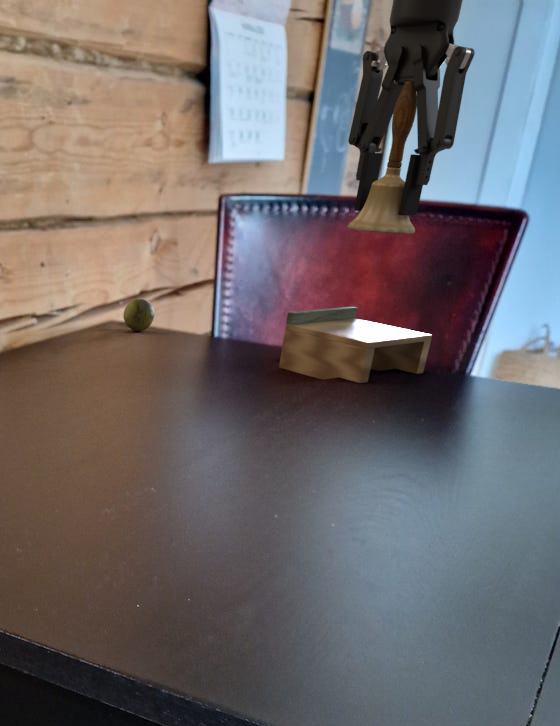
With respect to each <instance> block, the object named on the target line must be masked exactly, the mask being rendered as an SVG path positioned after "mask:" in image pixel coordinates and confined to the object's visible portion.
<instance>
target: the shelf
mask: <svg viewBox="0 0 560 726" xmlns="http://www.w3.org/2000/svg"><path fill="white" fill-rule="evenodd" d="M357 312H358V307H357V306H343V307H342V306H341V307H331V308H320V309H309V310H295V311H288V312H287V316H286V321H285V323H286V324H285V328H284V333H283V338H282V346H281V351H280V352H281V353H280V358H279V364H278V368H279V369H283V370H287V371H288V372H289V371H290V372H293V373H296V374H300V375H304V376H308V377H310V378H315V379H319V380H321V381H324V380H329V379H336V378H340V379H344V380H347V381H350V382H354V383H359V384H363V383H368V382H369V377H370V373H371V370H374V371H377V372H383V371H388V370H394V369H395V370H400V371H403V372H407V373H411V374H415V375H419V374H424V371H425V367H426V363H427V359H428V355H429V351H430V346H431V342H432V338H433V334H431V333H425V332H421V331H416V330H411V329H408V328H402V327H397V326H393V325H388V324H383V323H379V322H374V321H370V320H364V319H359V318H356V316H357Z"/></svg>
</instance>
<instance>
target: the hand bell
mask: <svg viewBox="0 0 560 726" xmlns="http://www.w3.org/2000/svg"><path fill="white" fill-rule="evenodd" d="M416 116H417V92H416V90H415V88H414V82H411V81H408V82H405V84H404V87H403V89H402V91H401V93H400V95H399V97H398V100H397V102H396V105H395V108H394V113H393V115H392V118H391V147H390V151H389V156H388V162H387V164H386V170H385V174H384V176H382V177H380V178H378V180H376V181H374V182H373V183H372V186H371V189H370V192H369V195H368V198H367V200H366V203H365V205H364V207H363V209H362V210H361V211H359V213H358V215H357V216H356V217H355V218H353V220H351V221H350V222H349V223H348V225H347V228H348V229H351V230H355V231H361V232H362V231H363V232H370V233H380V234H394V235H395V234H397V235H400V234H401V235H403V234H404V235H413V234H415V233H416V229H415V227H414V225H413V223H412V222H411V220H410V217H409V216H410V215H398V213H399V209H400V204H401V199H402V194H403V190H404V185H405V180H403V179H402V177H401V170H402V167H403V163H402V162H403V159H404V153H405V146H406V143H407V140H408V137H409V136H410V133H411V131H412V129H413V126H414V122H415V119H416Z"/></svg>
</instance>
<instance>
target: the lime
mask: <svg viewBox="0 0 560 726" xmlns="http://www.w3.org/2000/svg"><path fill="white" fill-rule="evenodd" d="M122 317H123V321H124V324H125V326H126V327H127V328H129V329H130V330H132V331H134V332H143V331H146V330H147V329H148V328H150V326H151V325H152V324H153V322H154V318H155V310H154V307H153V305H152V304H151V303H150V302H149V301H147V300H146V299H143V298H138V299H133V300H132V301H131V302H129V303H128V304H127V305H126V306H125V308H124V311H123V315H122Z"/></svg>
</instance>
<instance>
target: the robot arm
mask: <svg viewBox="0 0 560 726" xmlns="http://www.w3.org/2000/svg"><path fill="white" fill-rule="evenodd" d="M463 1H464V0H392V5H391V11H390V16H389V26H390V33H389V36H388V38H387V40H386V42H385V43H384V46H383V47H381V48H379V49H376V50H374V51H372V50H366V51H365V52H363V55H362V76H361V82H360V86H359V91H358V95H357V99H356V103H355V108H354V113H353V118H352V122H351V126H350V131H349V135H348V144H349V145H350V146H354V147H355V148H357V149H358V150H359V157H358V162H357V163H358V164H357V169H356V173H355V180H356V181H358V186H357V193H356V197H355V203H354V209H353V210H354V211H357V212H361V210H362V209H363V207H364V205H365V203H366V200H367V198H368V195H369V192H370V189H371V186H372V183H373V182H374V181H376V180H379V176H380V171H381V167H382V160H383V155H384V152H381V151H382V150H383V148H381V147H380V146H381V143H382V141H383V138H384V136H385V133H386V132H387V129H388V127H389V124H390V122H391V121H392V118H393V113H394V108H395V105H396V102H397V100H398V97H399V95H400V93H401V91H402V89H403V87H404V84H405V82H408V81H411V82H414V88H415V90H416V95H417V109H416V125H417V127H416V128H417V129H416V130H417V132H416V133H417V148H414V149H413V152H415V153H413V154H410V157H409V161H408V166H407V171H406V174H405V175H406V176H405V180H404V181H405V185H404V190H403V194H402V199H401V204H400V209H399V213H398V215H408V216H417V214H418V209H419V205H420V201H421V196H422V193H423V187H424V186H428V184H429V183H430V179H431V174H432V171H433V165H434V161H435V157H436V156H437V154H438V153H439V152H442V151H445V150H450V149H451V148H453V147H454V144H455V137H456V132H457V127H458V121H459V117H460V116H459V115H460V110H461V104H462V98H463V93H464V88H465V83H466V78H467V73H468V70H469V68H470V66H471V64H472V62H473V60H474V57H475V54H476V53H475V50H474V48H472V47H467V46H461V45H457V44H455V37H454V31H455V28H456V26H457V24H458V23H459V18H460V15H461V14H460V13H461V9H462V5H463ZM444 63H445V64H446V67H445V70H444V74H443V79H442V85H441V67H442V66H443V64H444ZM386 68H387V69H386ZM384 69H386V72H385V74H384ZM440 87H441V92H440V98H439V89H440Z"/></svg>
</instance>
